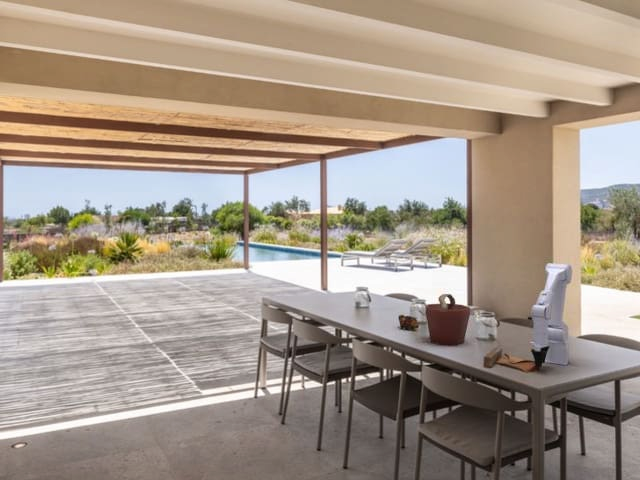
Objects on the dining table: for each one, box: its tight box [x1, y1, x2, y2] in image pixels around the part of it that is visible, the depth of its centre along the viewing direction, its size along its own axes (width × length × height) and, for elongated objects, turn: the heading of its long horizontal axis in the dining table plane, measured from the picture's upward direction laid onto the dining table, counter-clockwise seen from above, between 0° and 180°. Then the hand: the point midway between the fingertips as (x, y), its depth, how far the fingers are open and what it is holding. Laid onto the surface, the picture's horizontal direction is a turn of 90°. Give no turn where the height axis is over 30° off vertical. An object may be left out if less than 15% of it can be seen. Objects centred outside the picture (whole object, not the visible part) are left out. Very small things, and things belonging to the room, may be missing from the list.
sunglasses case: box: [495, 353, 541, 374], centre depth 224 cm, size 18×7×7 cm
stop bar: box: [483, 346, 503, 369], centre depth 230 cm, size 3×20×4 cm, turn 148°
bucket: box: [425, 293, 471, 347], centre depth 269 cm, size 24×22×25 cm
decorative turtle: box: [398, 314, 420, 331], centre depth 302 cm, size 10×15×8 cm, turn 41°
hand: (540, 364), depth 220 cm, fingers open, 7 cm apart
